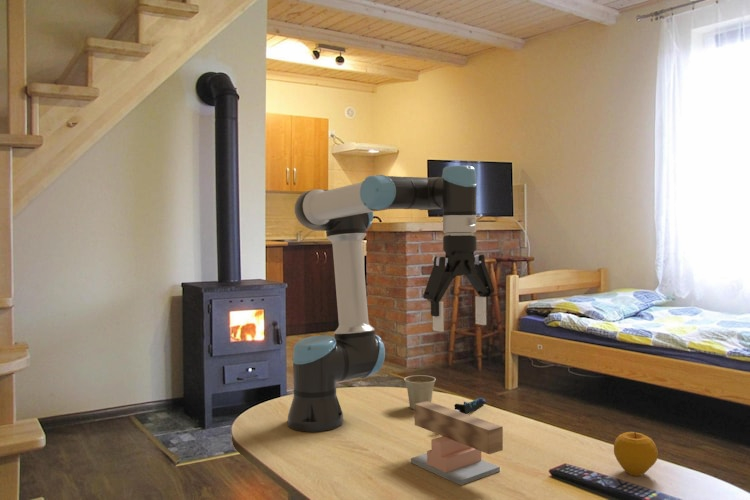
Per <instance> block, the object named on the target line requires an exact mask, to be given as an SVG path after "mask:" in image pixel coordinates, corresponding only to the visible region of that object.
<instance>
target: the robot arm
mask: <svg viewBox="0 0 750 500" xmlns="http://www.w3.org/2000/svg"><path fill="white" fill-rule="evenodd" d="M441 174H442V175H441V176H436V177H424V176H423V177H421V176H397V175H396V176H394V175H393V176H392V175H384V174H379V175H378V174H377V175H369V176H367V177H365V178H364V180H363V181H362V182H361V181H360V182H357V183H353V184H350V185H349V184H348V185H345V186H339V187H337V188H331V189H321V188H320V189H319V188H318V189H311V190H307V191H304V192H303V193H301V194H300V195H299V196H298V198H296V201H295V204H294V215H295V217H296V219H297V221H298V222H299V223H300V224H301V225H302V226H303V227H305V228H306V229H309V230H312V231H319V232H320V231H321V232H323V231H324V232H325V233H326V239H327V240H328V241H330V243H331V245H332V255H333V257H332V258H333V267H334V281H335V282H334V283H335V292H336V295H335V296H336V306H337V317H338V319H337V320H338V327H337V328H336V329H335V331H333V332H334V336H332V335H330V334H329V335H327V334H322V335H313V336H309V337H305V338H303V339H302V338H301V339H300V340H298V341H297V342H296V343H295V344H294V346H293V350H292V351H293V352H292V359H291V360H292V366H293V367H292V371H293V372H292V373H293V374H292V375H293V376H292V377H293V380H292V381H293V397H292V399H291V400H292V401H291V404H290V408H289V411H288V414H287V426H288V427H289V428H291V429H292V430H295V431H301V432H311V433H313V432H315V433H316V432H324V431H330V430H333V429H336V428H337V429H338V428H339V427H341V426H342V425H343V424H344V414H343V411H342V408H341V405H340V402H339V401H340V400H339V399H338V395H337V383H338V382H345V381H349V380H354V379H356V380H357V379H359V378H361V379H365V378H368V377H370V376H373V375H376V374H377V373H378V372H379V371H380V370H381V368H382V367H383V365H384V362H385V357H386V349H385V344H384V342H383V340H382V338H381V337H380V336H379V335H377V334H376V331H375V328H374V327H373V326H372V325H371V323H370V322H369V310H368V299H367V286H366V275H365V264H364V253H363V252H364V249H363V240H364V239H365V237H367V230H368V229H370V227H372V223H373V222H372V221H373V220H374V212H380V211H385V210H386V211H387V210H419V211H429V210H441V209H442V232H443V233H444V234H445V235H444V236H442V245H443V246H442V250H443V251H444V253H445V256H434V258H433V267H432V270H431V272H430V275H429V278H428V281H427V284H426V286H425V288H424V289H425V290H424V293H423V295H422V297H423V299H425V300H427V301H428V302H430V316H431V317H432V331H434V332H440V333H441V332H445V331H444V326H445V325H444V313H445V311H444V301H441V300H442V298H443V297H444V295H445V293H446V292H447V290H448V288H449V286H450V285H451V283H452V281H453V279H455V278H456V277H458V276H459V277H461V276H465V277H466V278H467V279H468V281H469V282H470V284H471V286H472V287H473V289H474V290H475V292H476V294H477V295H476V296H475V325H480V326H487V310H488V298H490V297H491V296H492V294H494V293H495V288H494V285H493V283H492V280H491V276H490V274H489V271H488V268H487V266H486V260H485V255H484V254H477V253H476V254H475V253H474V252H476V251H477V236H476V235H474V233H477V185H478V183H477V175H476V174H477V173H476V169H475V167H474V166H472V165H449V166H444V168H442V173H441Z"/></svg>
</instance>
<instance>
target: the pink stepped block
mask: <svg viewBox="0 0 750 500" xmlns="http://www.w3.org/2000/svg"><path fill="white" fill-rule="evenodd" d="M430 440H431V443H430V444H431V449H430V450H426V453H424V454H420V455H417V456H414V457H411V458H410V463H411V464H412V465H416V466H418V467H420V468H422V469H424V470H427V471H429V472H431V473H433V474H435V475H437V476H440V477H442V478H443V479H446V480H448V481H450V482H452V483H454V484H457V485H459V486H463V485H465V484H469V483H471V482H474V481H476V480H480V479H482V478H484V477H485V478H486V477H488V476H490V475H494V474H496V473H499V472H501V470H500V467H501V466H499V465H496V464H494V463H491V462H490V461H486V460H484V459H482V451H479V450H477V449H474V448H472V447H469V446H467V445H464V444H462V443H459V442H457V441H454V440H452V439H449V438H447V437H444V436H442V435H441V436H439V437H436V438H435V437H434V438H433V439H430Z"/></svg>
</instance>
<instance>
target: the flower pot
mask: <svg viewBox="0 0 750 500" xmlns="http://www.w3.org/2000/svg"><path fill="white" fill-rule="evenodd" d="M403 380H404V382H405V385H406V389H407V390H406V391H407V396H408V401H409V402H408V403H409V408H410V409H412V410H413V411H415V404H417V403H421V402H425V401H429V402H432V400H433V393H434V392H433V391H434V386H435V382H436V381H437V379H436V377H434V376H430V375H424V374H423V375H420V374H419V375H417V374H416V375H409V376H406V377H404V378H403Z"/></svg>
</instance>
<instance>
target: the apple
mask: <svg viewBox="0 0 750 500" xmlns="http://www.w3.org/2000/svg"><path fill="white" fill-rule="evenodd" d="M613 454H614V457H615V458H616V461H617V462H618V464H619V465H620V466H621V468H622V469H623V470H624V472H625V473H627V474H628V475H630V476H633V477H639V476H642V475H645V474H646V472H647V471H648V470H650V469H651V468H652V467H653V465H655V464H656V462H657V461H658V456H659V452H658V448H657V446H656V443H655V442H654V441H653V438H652V437H649V436H648V435H645V434H644V433H641V432H637V431H627V432H626V431H625V432H623V433H620V434H619V435H618V436H617V437H615V441H614V443H613Z"/></svg>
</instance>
